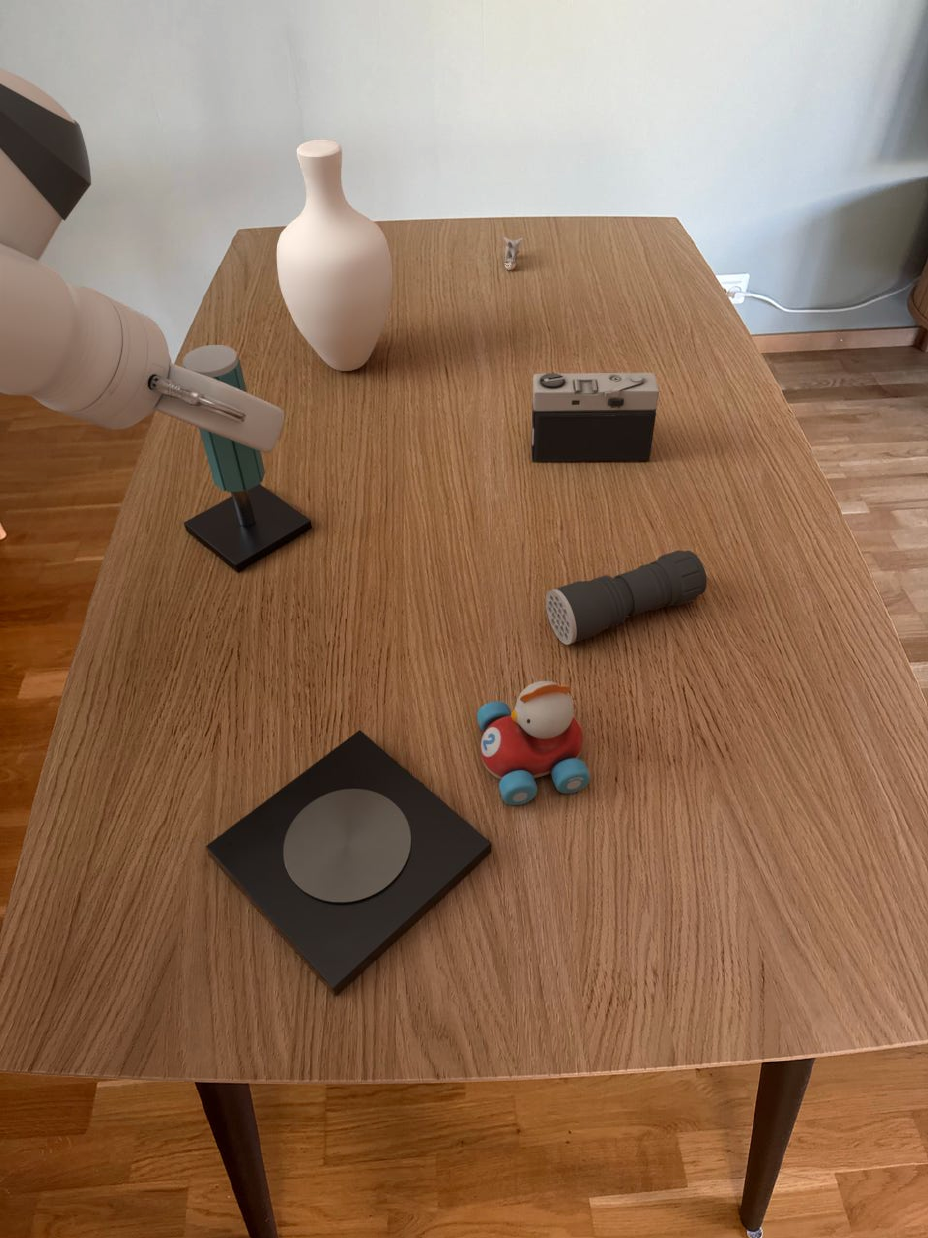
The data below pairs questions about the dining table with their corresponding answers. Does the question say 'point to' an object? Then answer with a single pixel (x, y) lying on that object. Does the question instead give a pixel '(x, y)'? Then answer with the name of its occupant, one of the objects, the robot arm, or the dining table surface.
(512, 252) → the dog figurine
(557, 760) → the toy car
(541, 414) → the camera
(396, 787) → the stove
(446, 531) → the dining table surface
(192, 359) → the teal ribbed pillar
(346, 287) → the vase
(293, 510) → the black peg stand
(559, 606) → the flashlight
